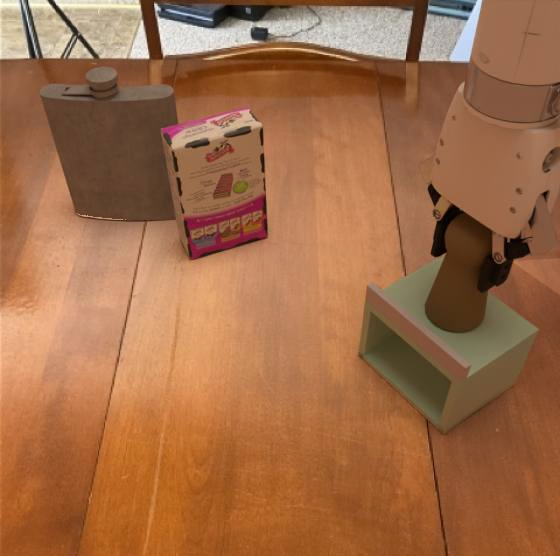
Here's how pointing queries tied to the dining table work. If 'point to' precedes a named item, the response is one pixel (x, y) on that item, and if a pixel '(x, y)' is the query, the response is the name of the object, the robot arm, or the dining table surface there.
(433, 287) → the brown pawn
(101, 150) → the hip flask
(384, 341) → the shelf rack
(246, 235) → the candy bar box
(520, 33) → the robot arm
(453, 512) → the dining table surface
